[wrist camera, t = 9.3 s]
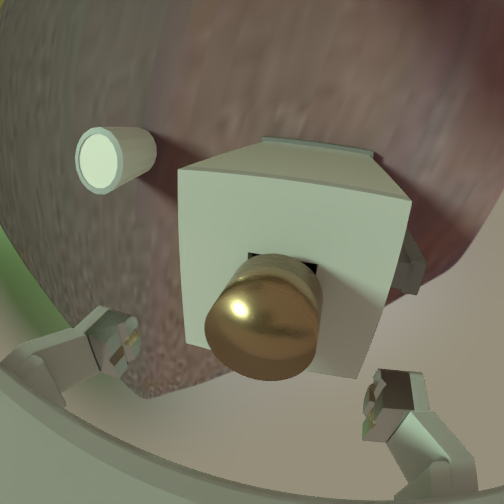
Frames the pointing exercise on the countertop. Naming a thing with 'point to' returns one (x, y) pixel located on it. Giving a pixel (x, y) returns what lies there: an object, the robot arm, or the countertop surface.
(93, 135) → the shot glass
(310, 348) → the plunger
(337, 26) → the countertop surface
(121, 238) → the countertop surface
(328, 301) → the block
